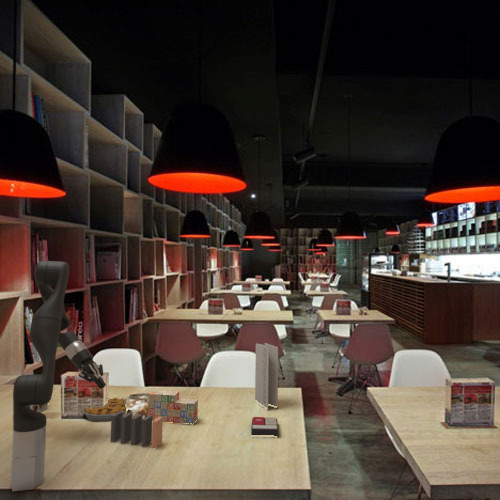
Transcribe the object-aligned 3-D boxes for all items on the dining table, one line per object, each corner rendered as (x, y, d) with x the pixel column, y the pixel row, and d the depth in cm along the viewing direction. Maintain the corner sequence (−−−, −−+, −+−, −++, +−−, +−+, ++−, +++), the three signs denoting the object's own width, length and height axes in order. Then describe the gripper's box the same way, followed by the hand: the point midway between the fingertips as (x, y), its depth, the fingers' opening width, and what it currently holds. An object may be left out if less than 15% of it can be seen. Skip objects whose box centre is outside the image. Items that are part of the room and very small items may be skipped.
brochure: (254, 402, 208) (255, 343, 210) (264, 400, 210) (265, 342, 212) (267, 410, 195) (268, 348, 197) (277, 409, 198) (278, 347, 199)
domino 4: (151, 441, 158) (152, 415, 158) (144, 447, 153) (145, 420, 154) (148, 441, 158) (148, 415, 159) (141, 446, 153) (142, 419, 154)
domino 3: (141, 440, 159) (142, 414, 160) (134, 445, 154) (135, 418, 155) (137, 439, 160) (138, 414, 160) (130, 445, 155) (131, 418, 155)
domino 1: (121, 437, 162) (122, 412, 162) (114, 442, 157) (114, 416, 157) (118, 437, 162) (118, 411, 163) (110, 441, 157) (111, 415, 158)
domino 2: (131, 438, 160) (132, 413, 161) (124, 444, 155) (124, 417, 156) (127, 438, 161) (128, 412, 161) (120, 443, 156) (121, 417, 156)
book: (277, 416, 178) (278, 427, 164) (277, 426, 178) (278, 438, 163) (252, 415, 179) (251, 426, 164) (252, 426, 178) (251, 438, 163)
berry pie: (78, 424, 175) (79, 412, 175) (85, 408, 196) (85, 397, 196) (131, 420, 181) (131, 409, 181) (132, 404, 202) (132, 394, 202)
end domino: (162, 443, 157) (162, 417, 157) (155, 448, 152) (156, 421, 152) (158, 442, 157) (159, 416, 158) (151, 448, 152) (152, 421, 153)
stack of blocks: (197, 420, 182) (198, 392, 182) (193, 425, 175) (193, 396, 176) (153, 416, 186) (154, 389, 186) (147, 421, 180) (148, 393, 180)
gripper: (73, 351, 159) (98, 385, 155) (94, 345, 172) (119, 377, 168) (61, 363, 161) (86, 398, 157) (83, 357, 173) (107, 388, 169)
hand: (103, 387), depth 162 cm, fingers closed
